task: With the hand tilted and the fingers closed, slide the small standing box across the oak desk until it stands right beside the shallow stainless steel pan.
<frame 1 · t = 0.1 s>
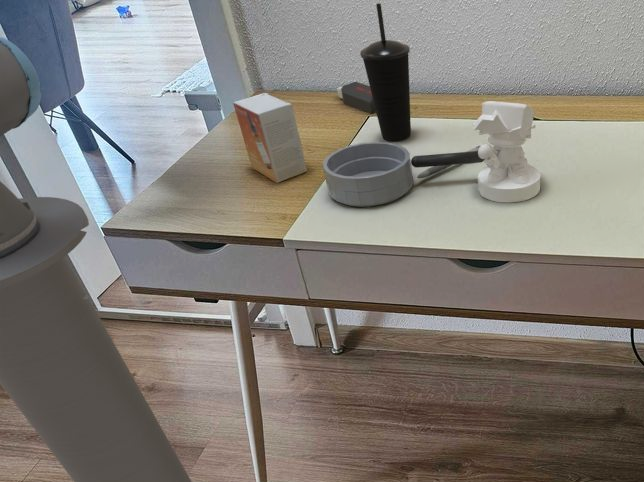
drinking cup: (397, 137, 106), on the table
pen: (452, 168, 95), on the table
pan: (371, 188, 91), on the table
small box: (280, 171, 98), on the table
usb drive: (363, 103, 119), on the table
character figurine: (510, 188, 89), on the table
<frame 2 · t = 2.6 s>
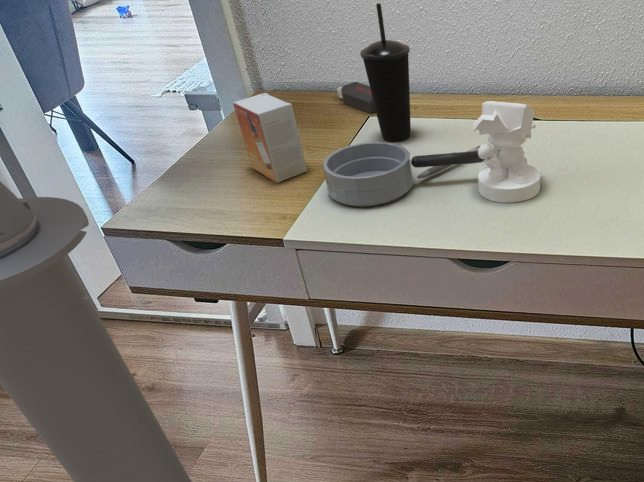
nothing on the table moved.
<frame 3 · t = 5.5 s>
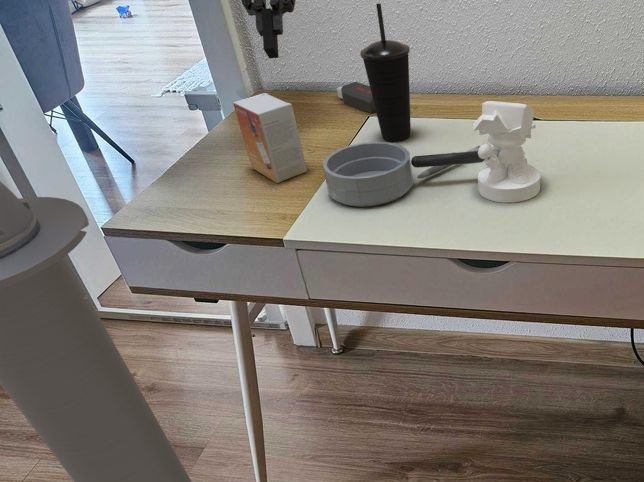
hand: (271, 53, 98), 14 cm above the table, tool tilted 45°, fingers closed
nothing on the table moved.
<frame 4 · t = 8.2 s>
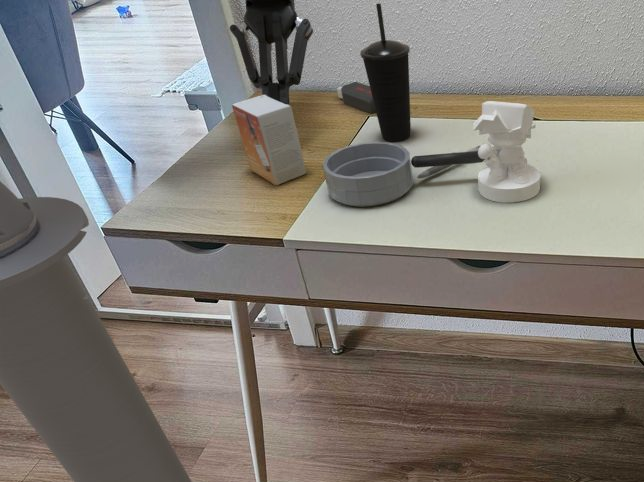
hand: (277, 126, 98), 5 cm above the table, tool tilted 45°, fingers closed
small box: (279, 174, 97), on the table, touching gripper
everything else where it was.
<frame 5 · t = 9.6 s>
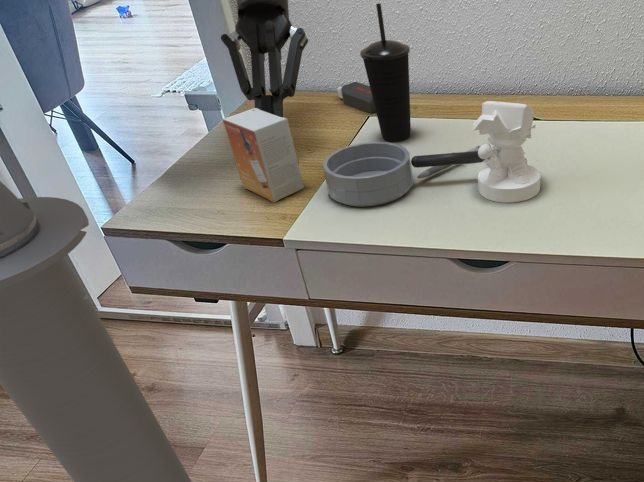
hand: (271, 140, 94), 5 cm above the table, tool tilted 45°, fingers closed
small box: (274, 189, 93), on the table, touching gripper
everything else where it was.
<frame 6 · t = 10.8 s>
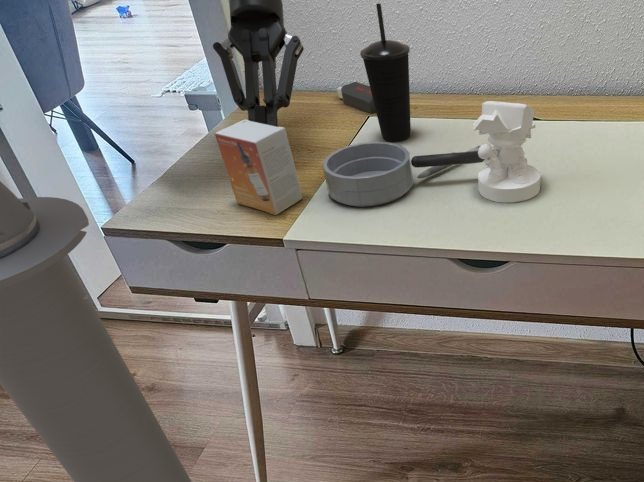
hand: (264, 153, 91), 5 cm above the table, tool tilted 45°, fingers closed
small box: (270, 202, 90), on the table, touching gripper
everything else where it was.
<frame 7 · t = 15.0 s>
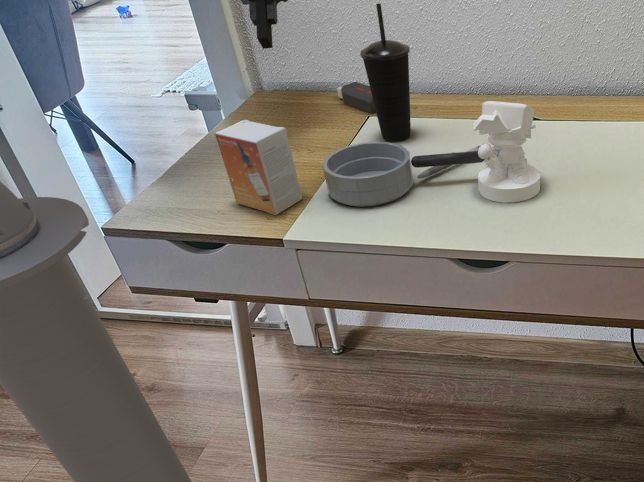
hand: (264, 43, 96), 16 cm above the table, tool tilted 45°, fingers closed
small box: (270, 203, 90), on the table
everything else where it was.
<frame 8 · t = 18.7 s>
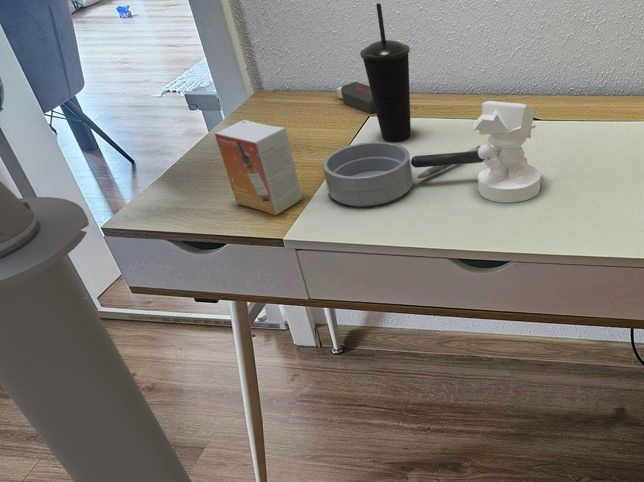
nothing on the table moved.
at the end: small box inside the target area (0.2 cm from its centre), on the table; small box 14.6 cm from the pan (horizontally); small box tilted 0° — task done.
